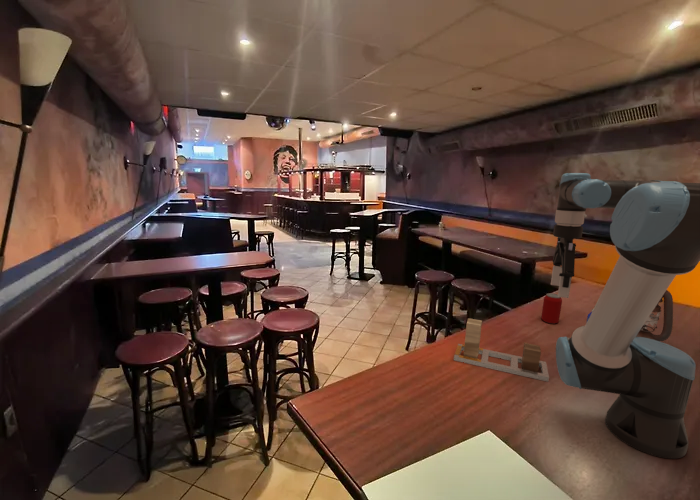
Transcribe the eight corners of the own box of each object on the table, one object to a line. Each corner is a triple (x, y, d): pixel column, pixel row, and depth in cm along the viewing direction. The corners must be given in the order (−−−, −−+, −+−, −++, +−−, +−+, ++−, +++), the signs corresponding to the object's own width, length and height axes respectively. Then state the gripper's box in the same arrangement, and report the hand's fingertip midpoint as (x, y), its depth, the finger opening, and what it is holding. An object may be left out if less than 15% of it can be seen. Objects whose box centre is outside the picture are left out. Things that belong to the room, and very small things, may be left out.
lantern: (619, 331, 140) (635, 248, 133) (671, 348, 127) (692, 256, 120) (607, 338, 134) (624, 251, 127) (661, 356, 121) (683, 260, 114)
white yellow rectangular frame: (548, 381, 104) (549, 376, 104) (453, 360, 116) (454, 355, 115) (545, 366, 113) (546, 361, 113) (457, 347, 125) (458, 343, 124)
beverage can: (558, 320, 150) (562, 294, 148) (558, 325, 145) (562, 299, 142) (541, 317, 154) (545, 291, 152) (540, 322, 148) (544, 295, 146)
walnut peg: (537, 375, 108) (540, 351, 106) (521, 371, 110) (524, 348, 108) (536, 368, 112) (539, 345, 110) (521, 364, 114) (524, 342, 112)
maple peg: (477, 361, 115) (480, 325, 112) (463, 358, 117) (466, 323, 114) (478, 355, 119) (482, 320, 117) (464, 352, 121) (468, 318, 118)
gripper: (594, 230, 92) (582, 305, 96) (574, 221, 115) (564, 282, 119) (562, 228, 95) (551, 301, 99) (548, 220, 118) (540, 279, 122)
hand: (558, 290), depth 109 cm, fingers open, 13 cm apart
